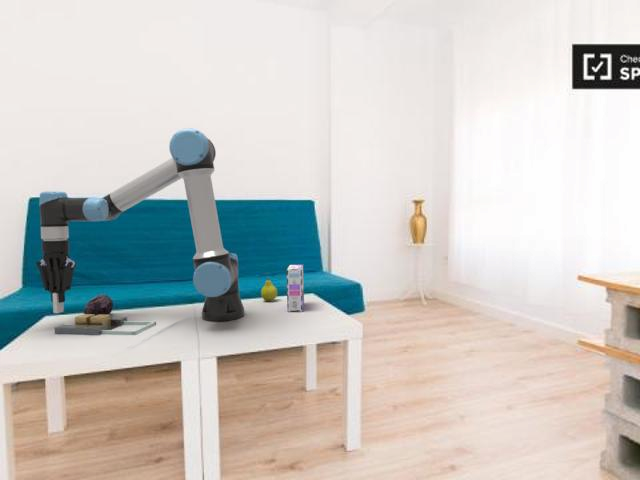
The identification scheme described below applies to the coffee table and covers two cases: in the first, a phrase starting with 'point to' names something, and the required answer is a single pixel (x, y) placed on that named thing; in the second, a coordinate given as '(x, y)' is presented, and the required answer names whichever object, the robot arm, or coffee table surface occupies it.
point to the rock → (99, 305)
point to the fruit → (268, 291)
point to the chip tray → (116, 332)
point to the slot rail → (89, 327)
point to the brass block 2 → (101, 320)
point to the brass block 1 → (83, 319)
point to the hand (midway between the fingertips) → (58, 312)
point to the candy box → (295, 288)
